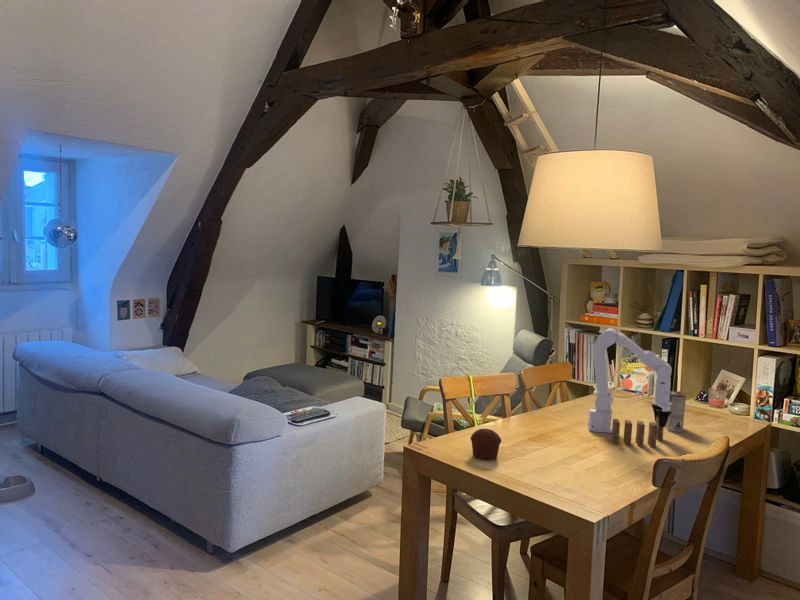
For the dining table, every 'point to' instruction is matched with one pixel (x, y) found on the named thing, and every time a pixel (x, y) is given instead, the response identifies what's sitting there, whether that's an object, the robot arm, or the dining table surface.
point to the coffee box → (676, 411)
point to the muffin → (485, 444)
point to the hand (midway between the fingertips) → (659, 424)
